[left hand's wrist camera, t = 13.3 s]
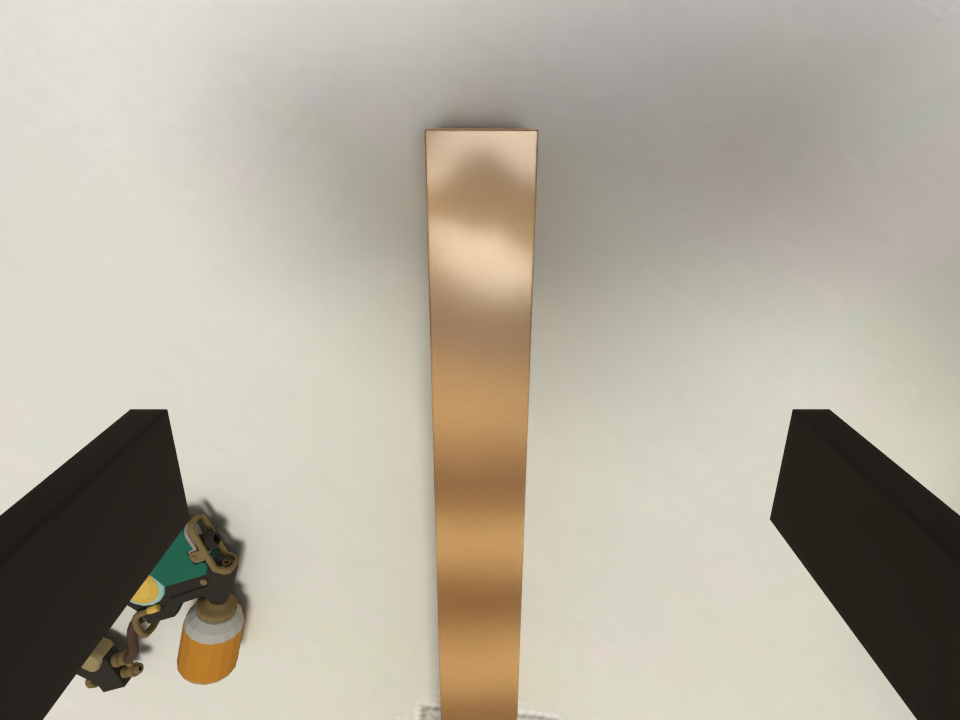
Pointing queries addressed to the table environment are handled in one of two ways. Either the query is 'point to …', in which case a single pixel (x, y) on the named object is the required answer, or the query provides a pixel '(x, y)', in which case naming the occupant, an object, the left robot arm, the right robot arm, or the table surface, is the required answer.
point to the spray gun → (171, 583)
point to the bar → (480, 404)
